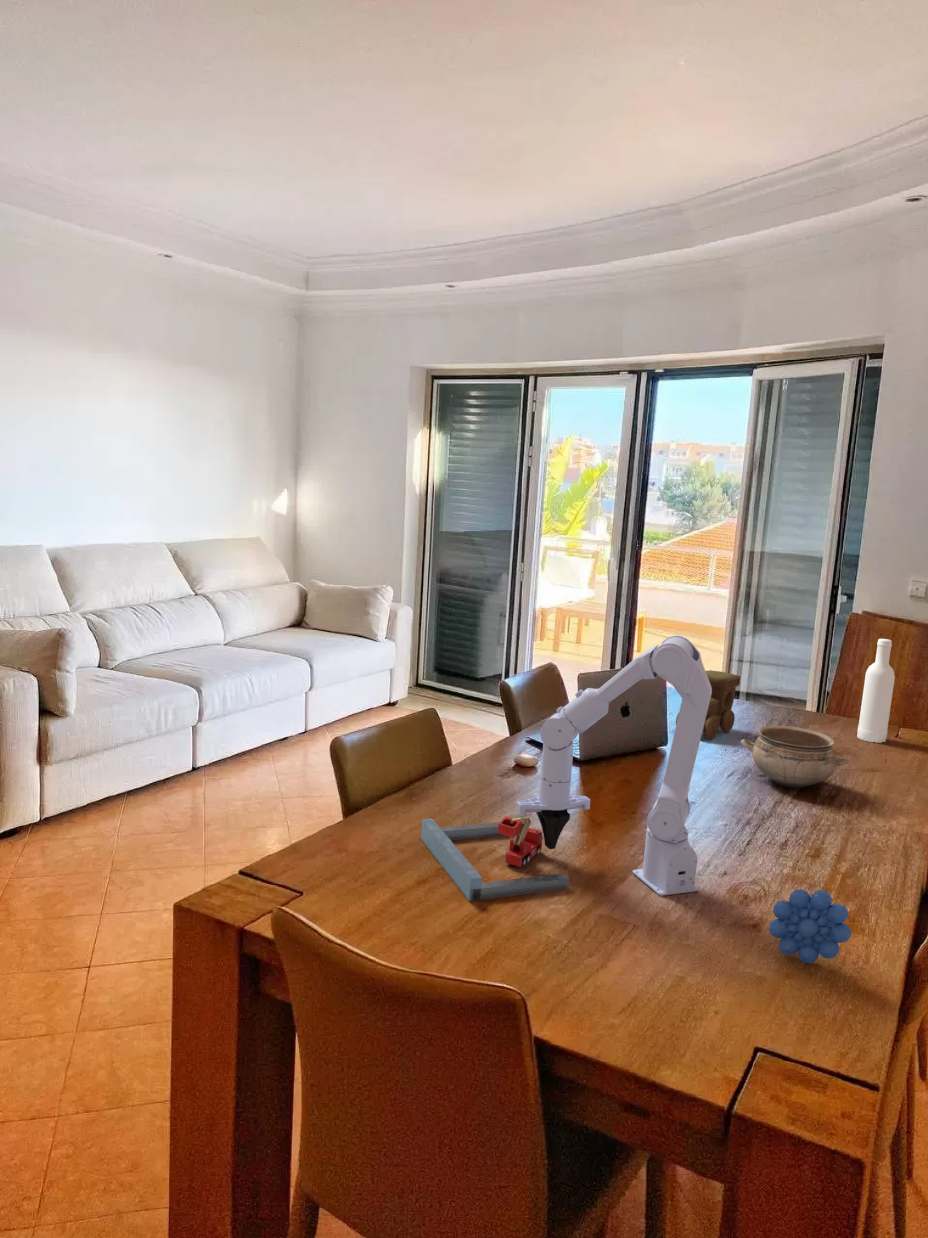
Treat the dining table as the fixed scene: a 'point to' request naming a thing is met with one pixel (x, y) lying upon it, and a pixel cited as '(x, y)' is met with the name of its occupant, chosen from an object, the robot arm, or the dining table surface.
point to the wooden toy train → (720, 703)
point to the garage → (465, 872)
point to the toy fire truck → (520, 840)
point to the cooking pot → (793, 755)
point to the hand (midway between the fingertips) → (549, 847)
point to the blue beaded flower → (810, 925)
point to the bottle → (877, 696)
